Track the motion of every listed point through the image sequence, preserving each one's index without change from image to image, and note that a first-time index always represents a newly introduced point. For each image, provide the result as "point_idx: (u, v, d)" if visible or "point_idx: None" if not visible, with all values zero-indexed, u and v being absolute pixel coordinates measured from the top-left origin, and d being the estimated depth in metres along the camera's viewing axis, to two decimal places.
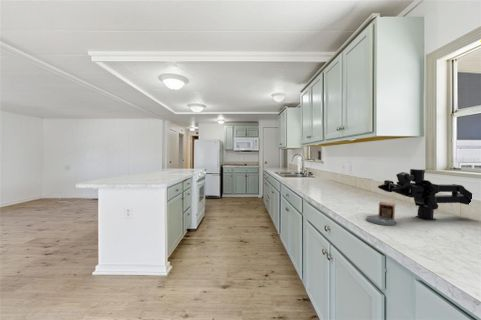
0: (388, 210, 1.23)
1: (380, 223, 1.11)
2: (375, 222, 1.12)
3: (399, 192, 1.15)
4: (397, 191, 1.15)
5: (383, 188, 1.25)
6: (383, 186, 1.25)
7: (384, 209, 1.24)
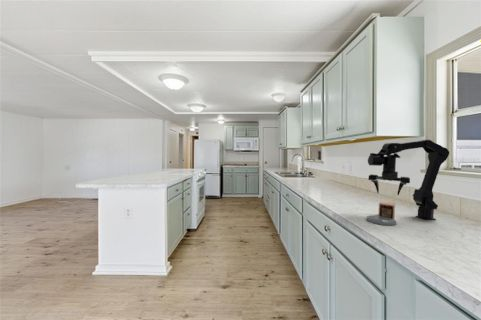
0: (388, 210, 1.23)
1: (380, 223, 1.11)
2: (375, 222, 1.12)
3: None
4: (400, 190, 1.22)
5: (378, 187, 1.28)
6: (378, 187, 1.27)
7: (384, 209, 1.24)
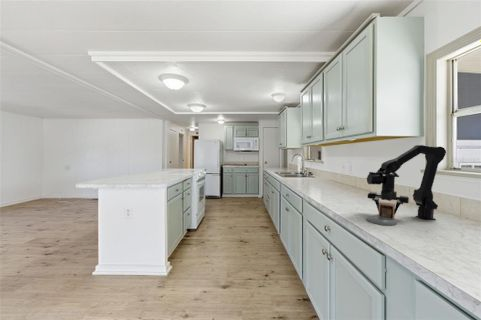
0: (388, 210, 1.23)
1: (380, 223, 1.11)
2: (375, 222, 1.12)
3: (397, 207, 1.23)
4: None
5: None
6: None
7: (384, 209, 1.24)
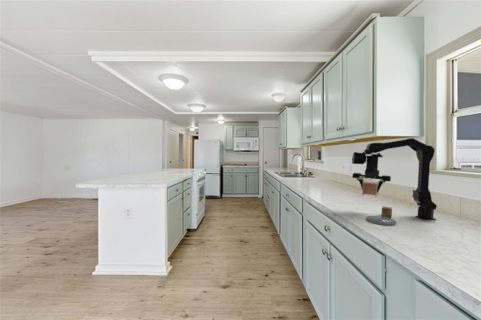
0: (388, 210, 1.23)
1: (380, 223, 1.11)
2: (375, 222, 1.12)
3: (380, 186, 1.28)
4: (379, 188, 1.28)
5: None
6: None
7: (384, 209, 1.24)
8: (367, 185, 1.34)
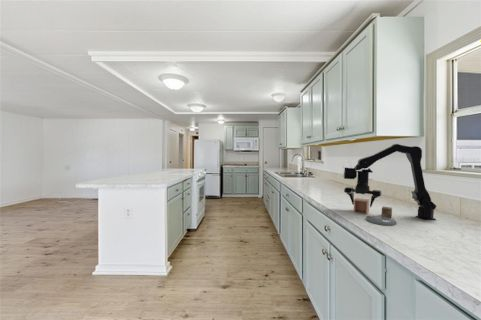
0: (388, 210, 1.23)
1: (380, 223, 1.11)
2: (375, 222, 1.12)
3: (373, 201, 1.31)
4: (372, 202, 1.31)
5: (353, 199, 1.37)
6: (353, 199, 1.37)
7: (384, 209, 1.24)
8: (359, 201, 1.38)
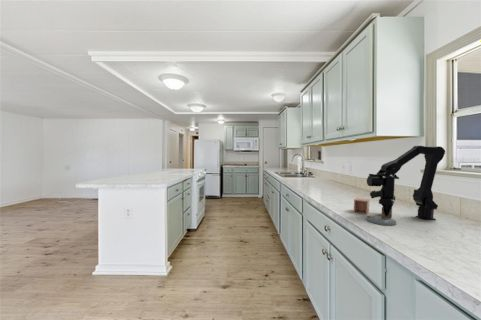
0: None
1: (380, 223, 1.11)
2: (375, 222, 1.12)
3: (388, 210, 1.22)
4: (387, 211, 1.22)
5: None
6: None
7: None
8: (359, 201, 1.38)
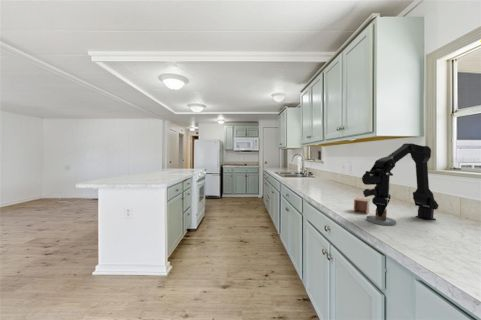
0: None
1: (380, 223, 1.11)
2: (375, 222, 1.12)
3: (382, 210, 1.11)
4: (381, 212, 1.11)
5: None
6: None
7: None
8: (359, 201, 1.38)
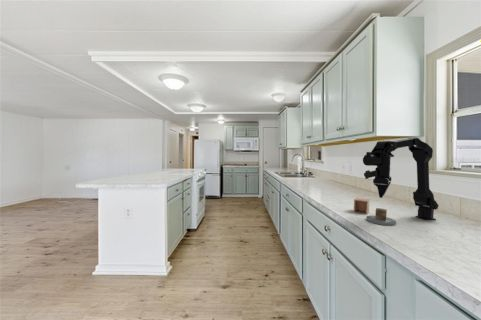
0: (382, 212, 1.14)
1: (380, 223, 1.11)
2: (375, 222, 1.12)
3: (383, 191, 1.10)
4: (382, 192, 1.11)
5: None
6: None
7: (378, 211, 1.15)
8: (359, 201, 1.38)
